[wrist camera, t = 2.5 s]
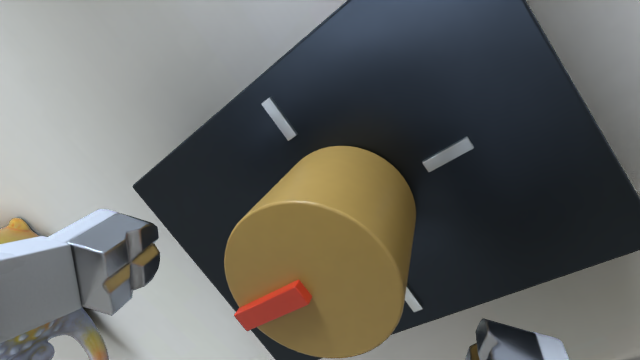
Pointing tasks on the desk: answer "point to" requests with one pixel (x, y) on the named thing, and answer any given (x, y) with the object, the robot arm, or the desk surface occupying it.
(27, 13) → the desk surface
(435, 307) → the plate
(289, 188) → the lock knob
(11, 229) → the mug
